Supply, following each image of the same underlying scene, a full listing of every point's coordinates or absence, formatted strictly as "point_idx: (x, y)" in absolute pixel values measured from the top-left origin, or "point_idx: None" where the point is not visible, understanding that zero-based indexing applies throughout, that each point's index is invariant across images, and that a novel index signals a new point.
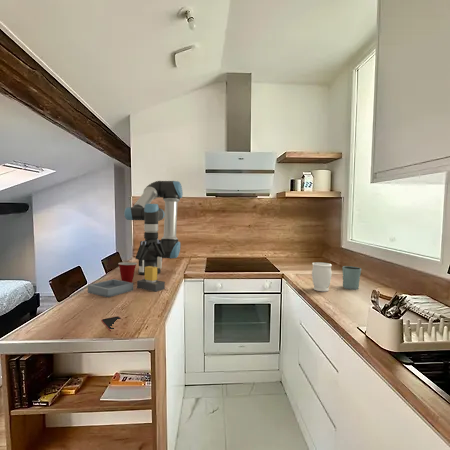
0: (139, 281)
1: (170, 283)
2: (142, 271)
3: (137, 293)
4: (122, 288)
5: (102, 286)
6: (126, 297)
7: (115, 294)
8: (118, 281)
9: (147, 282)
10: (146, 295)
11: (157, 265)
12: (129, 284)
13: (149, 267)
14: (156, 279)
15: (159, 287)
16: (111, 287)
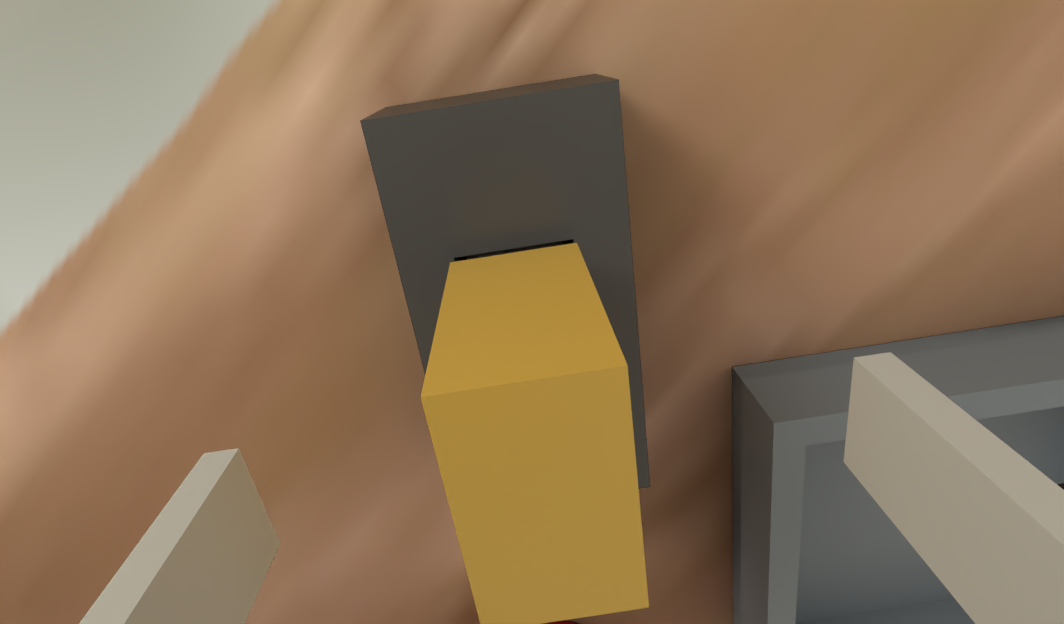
0: (645, 444)
1: (125, 309)
2: (900, 375)
3: (809, 206)
4: (951, 371)
5: (910, 618)
6: (1027, 150)
7: (1022, 328)
8: (791, 612)
9: (619, 305)
10: (819, 12)
11: (252, 592)
12: (845, 407)
13: (613, 496)
14: (469, 262)
15: (510, 90)
16: (850, 562)
